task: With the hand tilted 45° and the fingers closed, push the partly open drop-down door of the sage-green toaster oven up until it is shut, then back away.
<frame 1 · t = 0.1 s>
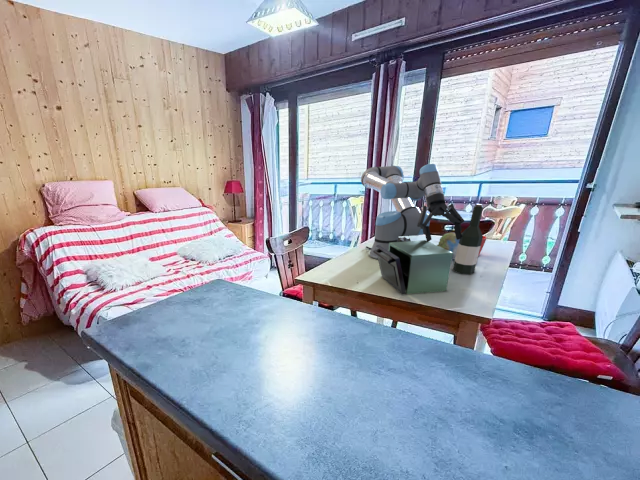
hand: (444, 239, 144), 15 cm above the table, tool tilted 35°, fingers open, 13 cm apart
oven: (414, 283, 139), on the table
oven door: (387, 269, 136), point 7 cm above the table, hinge at 16.5°
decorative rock: (447, 258, 168), on the table
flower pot: (470, 254, 171), on the table
wine bottle: (462, 271, 149), on the table
foil: (406, 250, 184), on the table
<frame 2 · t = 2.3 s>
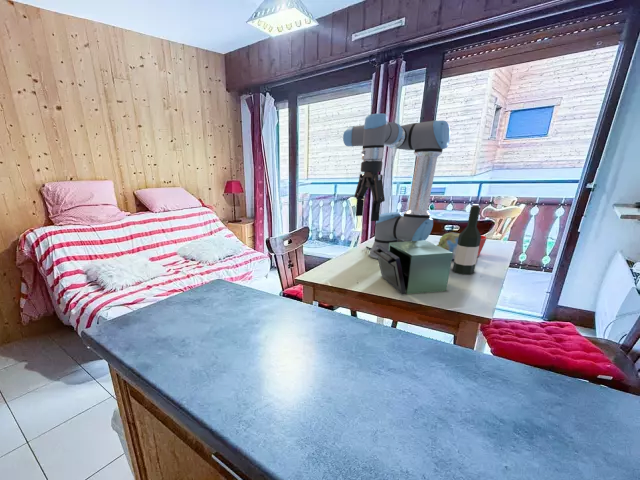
hand: (366, 218, 129), 29 cm above the table, tool pointing down, fingers open, 13 cm apart
oven door: (387, 269, 136), point 7 cm above the table, hinge at 16.1°
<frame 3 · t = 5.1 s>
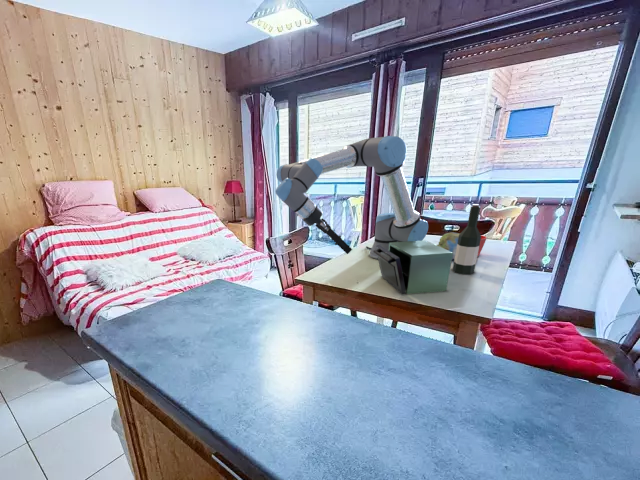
hand: (349, 251, 132), 16 cm above the table, tool tilted 45°, fingers closed
nothing on the table moved.
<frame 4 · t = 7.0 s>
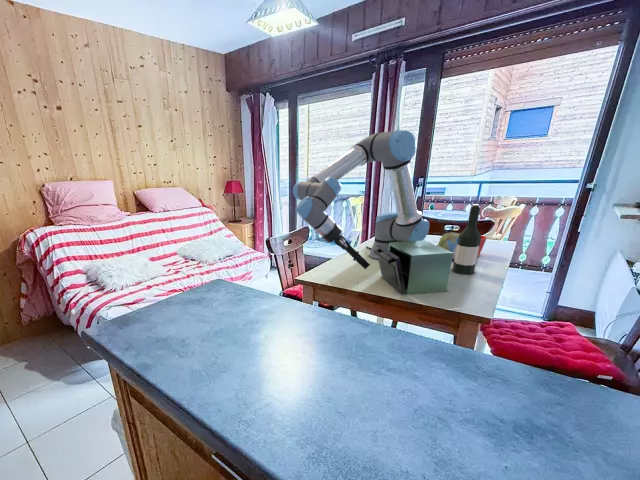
hand: (367, 266, 135), 9 cm above the table, tool tilted 45°, fingers closed
nothing on the table moved.
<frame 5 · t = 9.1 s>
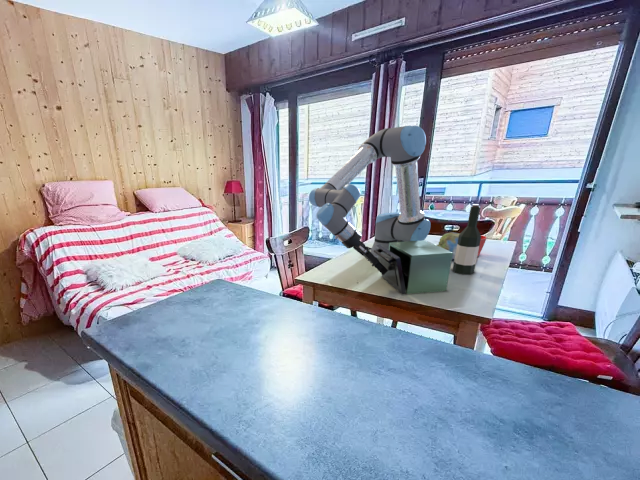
hand: (385, 272, 136), 6 cm above the table, tool tilted 45°, fingers closed
oven door: (387, 269, 136), point 7 cm above the table, hinge at 15.5°, touching gripper
everything else where it was.
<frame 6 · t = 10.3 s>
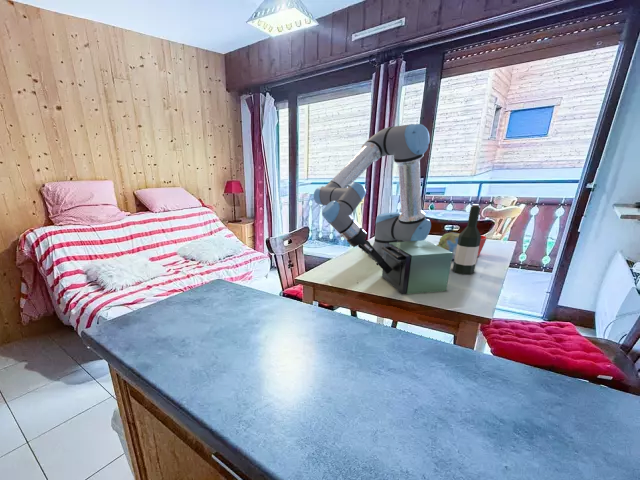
hand: (389, 271, 136), 6 cm above the table, tool tilted 45°, fingers closed
oven door: (392, 267, 136), point 8 cm above the table, hinge at 0.8°, touching gripper
everything else where it was.
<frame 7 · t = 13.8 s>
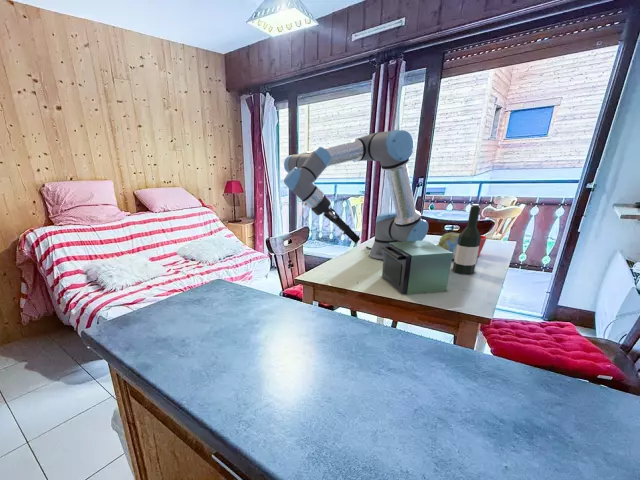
hand: (357, 240, 133), 20 cm above the table, tool tilted 45°, fingers closed
oven door: (392, 267, 136), point 8 cm above the table, hinge at 0.8°
everything else where it was.
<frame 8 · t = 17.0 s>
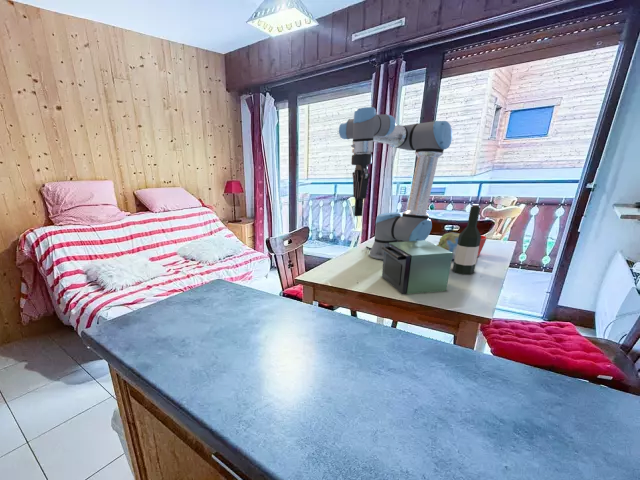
hand: (358, 215, 133), 29 cm above the table, tool pointing down, fingers closed
nothing on the table moved.
at the end: oven door at +1° (first picture: +17°); oven door reached +17° during the clip, +1° at the end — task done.
